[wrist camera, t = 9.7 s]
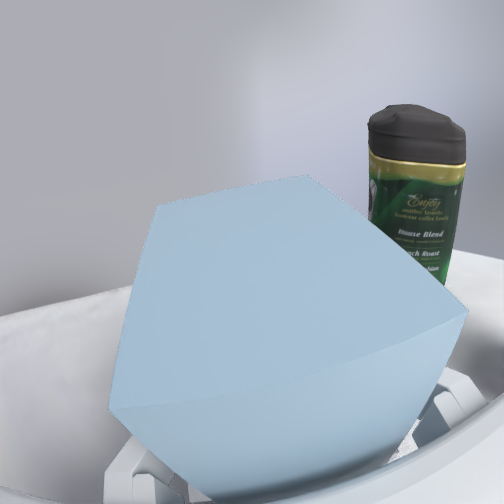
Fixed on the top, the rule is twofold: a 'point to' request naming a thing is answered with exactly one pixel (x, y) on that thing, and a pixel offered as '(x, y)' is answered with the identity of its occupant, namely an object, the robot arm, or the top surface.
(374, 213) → the coffee jar
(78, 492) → the top surface
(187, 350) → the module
